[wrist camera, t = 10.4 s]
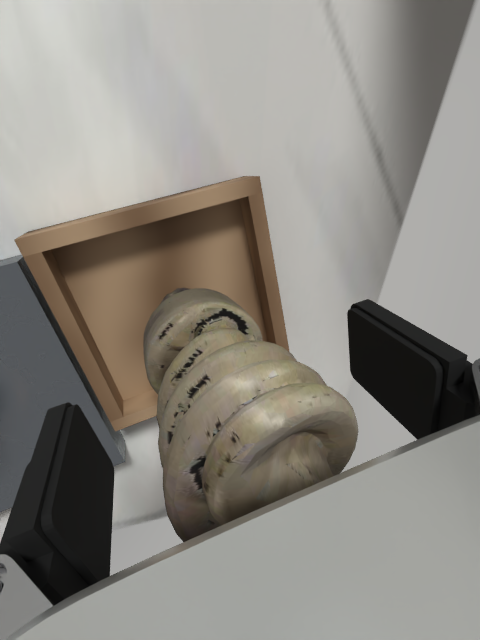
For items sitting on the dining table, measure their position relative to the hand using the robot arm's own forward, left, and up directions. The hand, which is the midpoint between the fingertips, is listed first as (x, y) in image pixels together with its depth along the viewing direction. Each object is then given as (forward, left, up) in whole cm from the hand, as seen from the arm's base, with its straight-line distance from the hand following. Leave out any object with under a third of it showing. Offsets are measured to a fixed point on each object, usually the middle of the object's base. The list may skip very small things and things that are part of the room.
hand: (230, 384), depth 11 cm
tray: (+1, +1, -11) cm, 11 cm away
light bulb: (0, 0, -10) cm, 10 cm away
